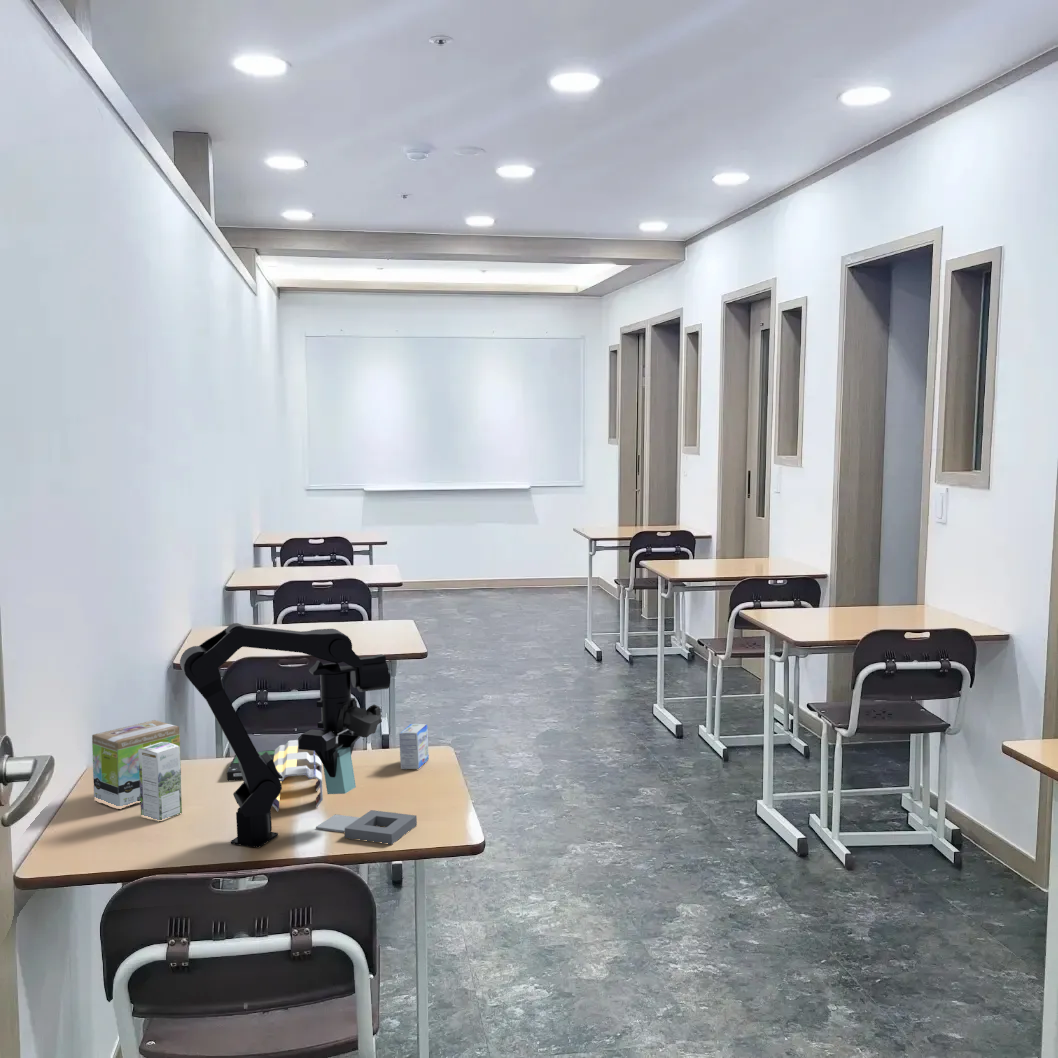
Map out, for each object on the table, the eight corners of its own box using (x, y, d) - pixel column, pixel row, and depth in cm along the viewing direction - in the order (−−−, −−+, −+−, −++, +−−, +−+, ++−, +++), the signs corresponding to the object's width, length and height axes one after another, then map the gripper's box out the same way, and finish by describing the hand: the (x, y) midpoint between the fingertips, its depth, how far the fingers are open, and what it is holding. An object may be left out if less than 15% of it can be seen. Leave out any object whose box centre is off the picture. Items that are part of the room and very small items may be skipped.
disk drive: (274, 780, 230) (280, 759, 244) (274, 768, 229) (280, 748, 244) (227, 784, 228) (235, 762, 243) (226, 771, 228) (235, 751, 242)
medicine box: (418, 770, 232) (417, 733, 232) (400, 769, 233) (398, 732, 233) (429, 759, 240) (427, 723, 239) (410, 759, 241) (409, 723, 240)
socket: (391, 844, 189) (391, 834, 189) (345, 838, 193) (344, 828, 193) (416, 825, 199) (416, 815, 198) (371, 819, 202) (371, 810, 202)
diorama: (323, 809, 210) (320, 746, 209) (271, 813, 208) (268, 750, 207) (322, 771, 234) (320, 715, 233) (276, 775, 232) (273, 718, 231)
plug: (345, 793, 197) (338, 752, 196) (327, 794, 198) (320, 753, 198) (356, 786, 200) (350, 746, 200) (338, 787, 202) (332, 747, 202)
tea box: (119, 812, 210) (115, 741, 209) (93, 802, 216) (89, 734, 215) (183, 791, 222) (180, 724, 221) (156, 782, 228) (153, 717, 227)
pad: (347, 833, 196) (347, 831, 196) (315, 828, 198) (315, 826, 198) (365, 820, 202) (365, 818, 202) (335, 816, 205) (335, 814, 205)
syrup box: (163, 809, 211) (160, 740, 210) (183, 814, 208) (179, 744, 207) (140, 818, 206) (136, 747, 205) (160, 823, 203) (156, 751, 202)
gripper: (346, 709, 186) (349, 793, 188) (395, 686, 204) (398, 763, 205) (294, 705, 190) (298, 787, 192) (347, 683, 208) (349, 758, 209)
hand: (338, 773), depth 199 cm, fingers closed on plug, 4 cm apart
